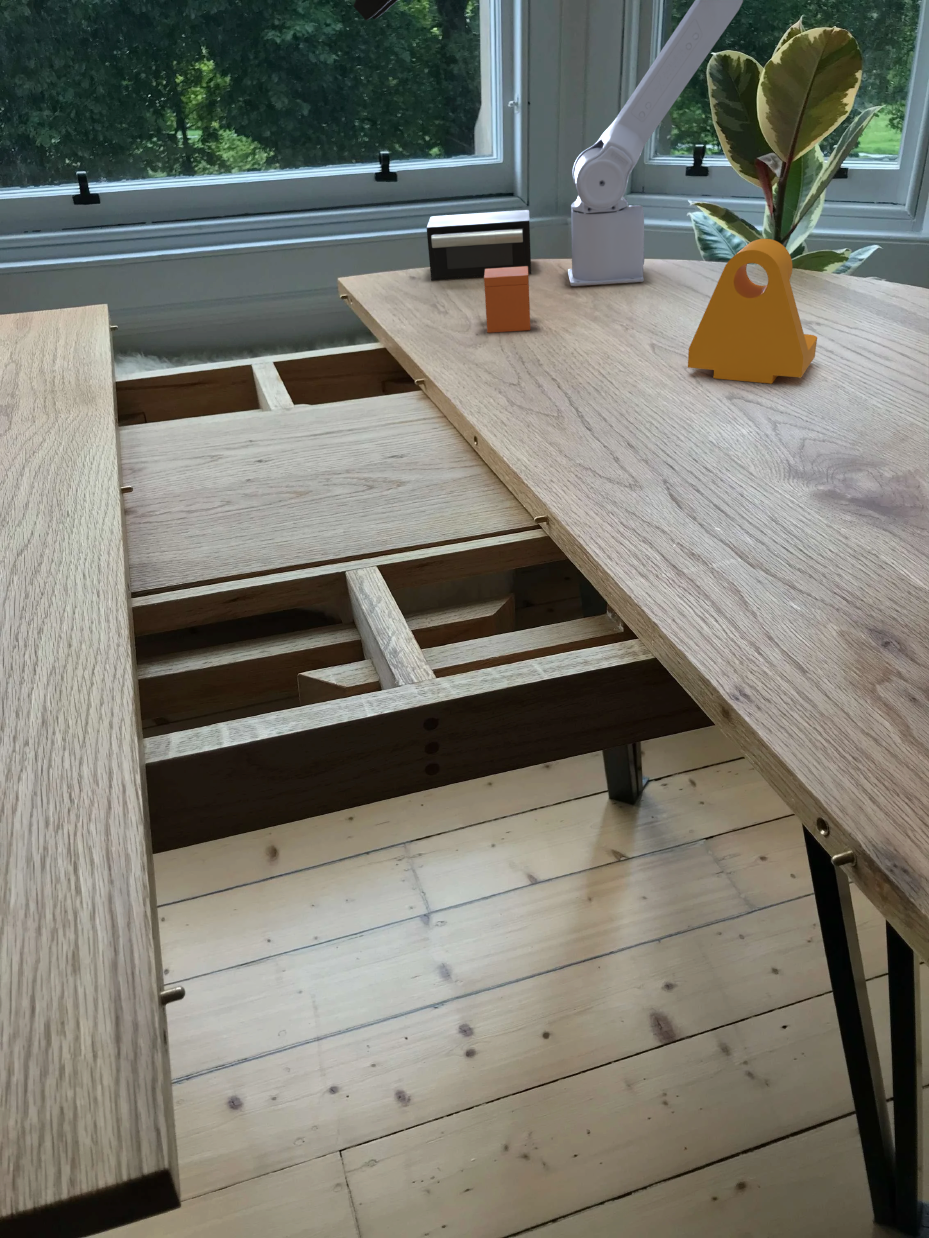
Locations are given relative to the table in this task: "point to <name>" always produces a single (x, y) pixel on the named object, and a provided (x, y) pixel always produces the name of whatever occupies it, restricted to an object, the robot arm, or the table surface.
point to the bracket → (753, 321)
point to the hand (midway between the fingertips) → (364, 13)
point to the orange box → (507, 299)
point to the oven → (478, 243)
